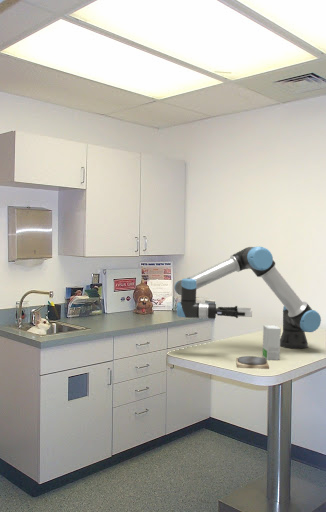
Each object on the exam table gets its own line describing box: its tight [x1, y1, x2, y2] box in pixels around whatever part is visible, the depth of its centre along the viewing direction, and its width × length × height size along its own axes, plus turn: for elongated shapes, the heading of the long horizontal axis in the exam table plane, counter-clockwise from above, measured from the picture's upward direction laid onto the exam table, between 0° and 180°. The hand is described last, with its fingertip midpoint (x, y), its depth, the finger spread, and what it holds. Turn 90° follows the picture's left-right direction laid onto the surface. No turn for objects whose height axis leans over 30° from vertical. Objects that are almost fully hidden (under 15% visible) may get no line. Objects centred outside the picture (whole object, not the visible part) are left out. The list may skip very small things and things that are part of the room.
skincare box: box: [261, 324, 282, 361], centre depth 237 cm, size 8×7×16 cm
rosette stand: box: [235, 355, 270, 370], centre depth 223 cm, size 14×14×2 cm
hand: (251, 312), depth 238 cm, fingers open, 13 cm apart
